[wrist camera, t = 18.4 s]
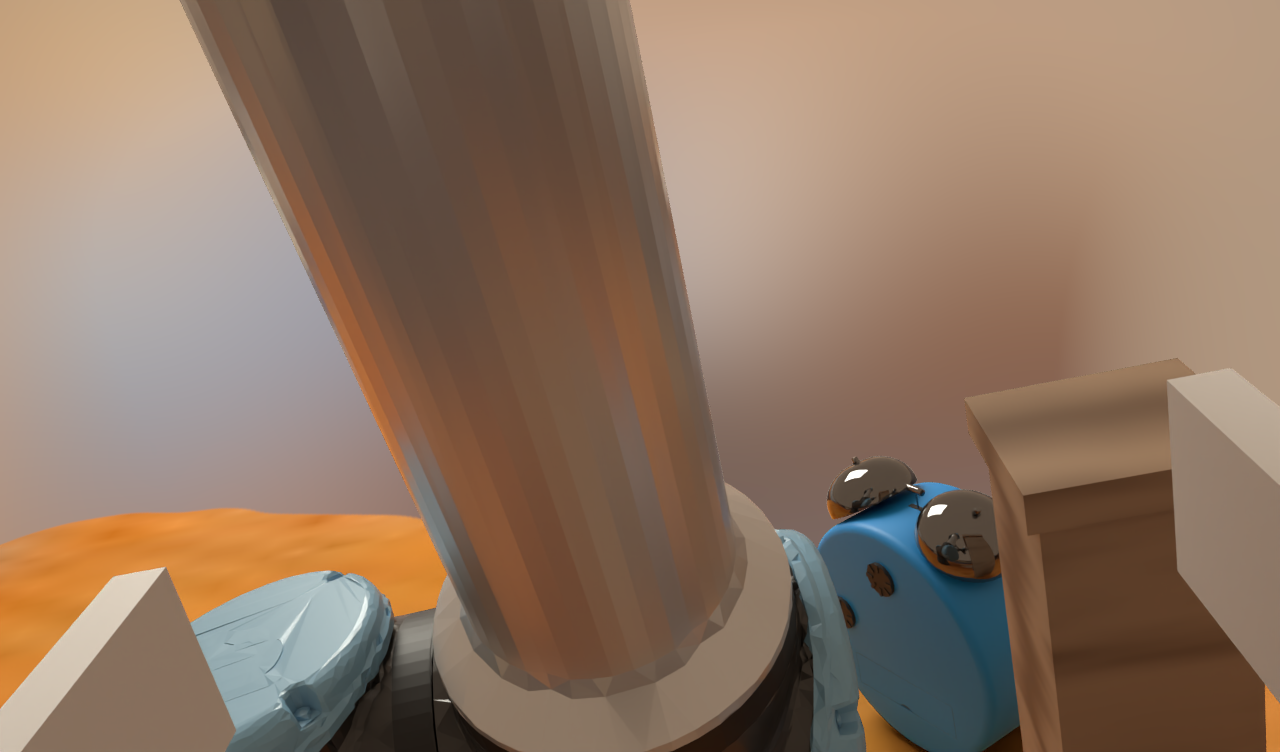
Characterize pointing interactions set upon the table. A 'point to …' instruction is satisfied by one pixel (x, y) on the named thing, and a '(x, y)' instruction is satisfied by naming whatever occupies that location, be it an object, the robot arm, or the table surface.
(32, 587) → the table surface
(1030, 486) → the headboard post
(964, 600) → the alarm clock
